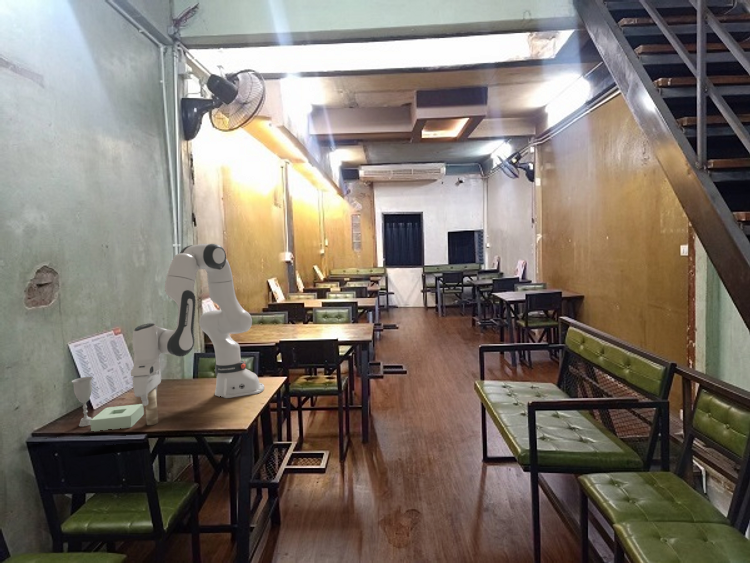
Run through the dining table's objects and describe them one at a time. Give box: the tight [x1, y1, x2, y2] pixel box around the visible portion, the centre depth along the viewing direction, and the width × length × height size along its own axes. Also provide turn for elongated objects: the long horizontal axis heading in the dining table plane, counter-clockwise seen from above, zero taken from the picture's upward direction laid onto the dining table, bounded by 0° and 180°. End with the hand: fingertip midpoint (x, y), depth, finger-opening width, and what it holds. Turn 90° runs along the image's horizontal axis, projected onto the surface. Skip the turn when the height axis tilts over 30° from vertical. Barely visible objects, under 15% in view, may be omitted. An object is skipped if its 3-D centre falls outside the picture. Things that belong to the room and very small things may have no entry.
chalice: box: [71, 376, 93, 427], centre depth 171 cm, size 7×7×18 cm
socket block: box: [90, 403, 145, 432], centre depth 170 cm, size 14×14×4 cm
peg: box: [144, 389, 159, 426], centre depth 168 cm, size 4×4×13 cm
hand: (149, 401), depth 167 cm, fingers open, 8 cm apart
